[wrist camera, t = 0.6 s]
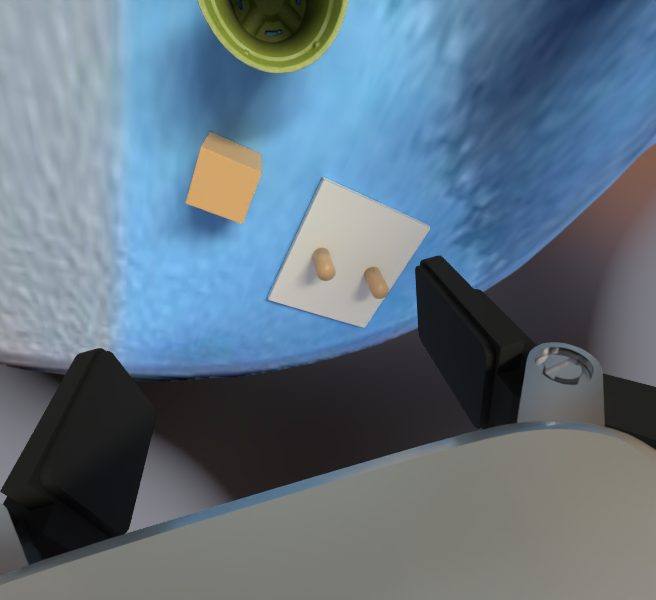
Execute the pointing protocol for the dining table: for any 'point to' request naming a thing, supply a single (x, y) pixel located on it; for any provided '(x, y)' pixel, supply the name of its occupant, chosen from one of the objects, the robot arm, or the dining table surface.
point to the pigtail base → (346, 255)
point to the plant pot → (273, 14)
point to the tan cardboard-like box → (225, 178)
